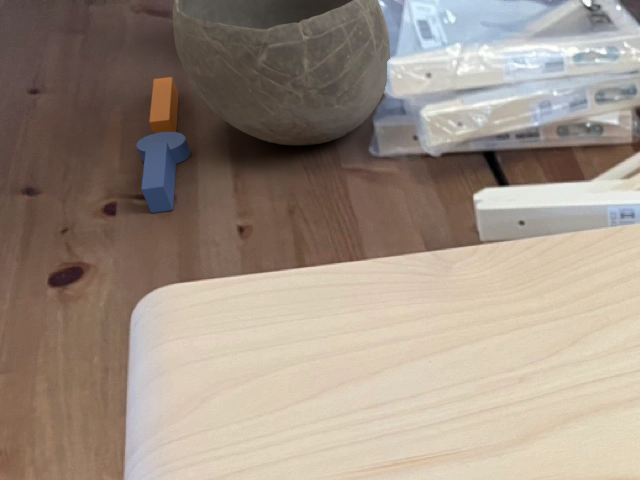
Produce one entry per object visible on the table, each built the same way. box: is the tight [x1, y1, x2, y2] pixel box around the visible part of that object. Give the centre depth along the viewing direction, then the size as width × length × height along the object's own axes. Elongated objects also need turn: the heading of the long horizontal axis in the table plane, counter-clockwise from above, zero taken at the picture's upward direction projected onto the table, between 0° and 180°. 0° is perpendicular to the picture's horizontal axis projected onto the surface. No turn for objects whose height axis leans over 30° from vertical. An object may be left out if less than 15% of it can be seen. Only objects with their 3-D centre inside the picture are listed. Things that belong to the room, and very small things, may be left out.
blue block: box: [135, 131, 192, 214], centre depth 102 cm, size 15×5×2 cm, turn 19°
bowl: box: [172, 0, 391, 146], centre depth 106 cm, size 20×20×15 cm
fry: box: [149, 76, 180, 134], centre depth 113 cm, size 12×2×2 cm, turn 19°
